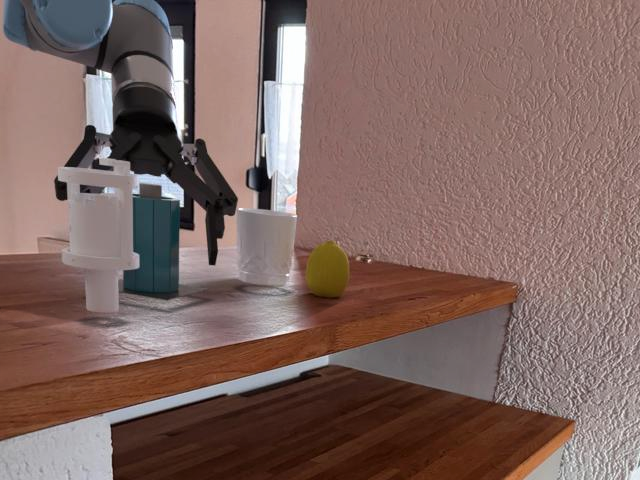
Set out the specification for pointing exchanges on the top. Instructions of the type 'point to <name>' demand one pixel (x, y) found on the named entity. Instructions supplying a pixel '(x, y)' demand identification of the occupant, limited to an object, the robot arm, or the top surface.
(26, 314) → the top surface
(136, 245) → the ring sleeve
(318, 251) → the lemon
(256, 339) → the top surface
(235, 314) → the top surface
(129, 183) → the white stepped cylinder
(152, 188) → the grey peg stand
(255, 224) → the white cup
